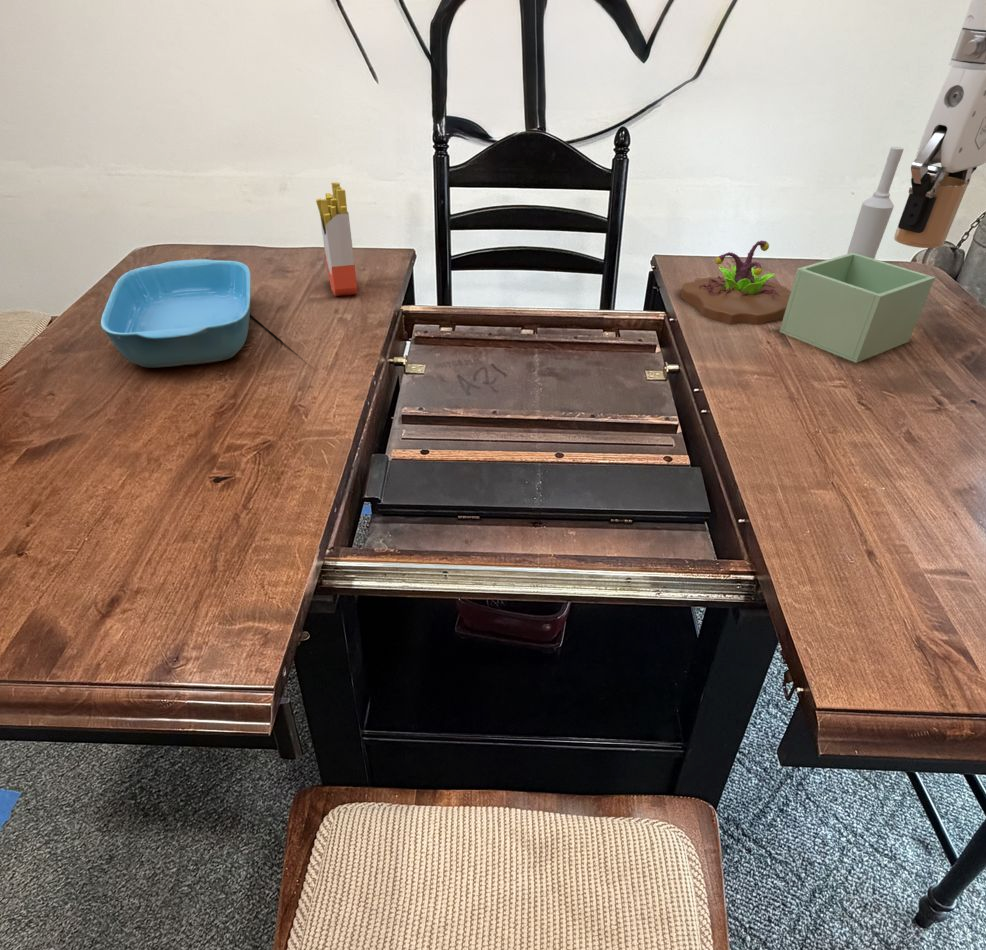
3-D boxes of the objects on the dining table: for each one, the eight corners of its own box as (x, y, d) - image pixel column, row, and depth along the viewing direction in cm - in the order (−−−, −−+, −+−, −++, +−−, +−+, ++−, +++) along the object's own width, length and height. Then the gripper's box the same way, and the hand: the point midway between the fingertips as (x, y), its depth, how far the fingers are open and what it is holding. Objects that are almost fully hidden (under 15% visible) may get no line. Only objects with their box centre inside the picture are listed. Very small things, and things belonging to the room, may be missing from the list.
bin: (907, 344, 121) (935, 277, 113) (854, 366, 114) (880, 296, 107) (831, 316, 130) (852, 252, 122) (778, 334, 123) (797, 268, 116)
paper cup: (952, 242, 93) (977, 181, 88) (928, 251, 90) (952, 188, 85) (909, 231, 96) (931, 172, 91) (884, 239, 93) (905, 179, 89)
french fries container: (334, 303, 132) (319, 194, 120) (327, 283, 139) (312, 179, 127) (359, 300, 133) (346, 193, 121) (350, 281, 140) (338, 178, 128)
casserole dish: (134, 300, 132) (120, 259, 127) (257, 291, 136) (249, 251, 131) (106, 388, 106) (88, 341, 101) (260, 373, 110) (250, 328, 105)
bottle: (860, 306, 133) (915, 152, 116) (831, 302, 135) (881, 149, 118) (859, 297, 137) (913, 146, 120) (831, 293, 138) (880, 143, 121)
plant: (815, 321, 128) (836, 255, 120) (716, 331, 124) (732, 263, 116) (758, 283, 142) (774, 222, 134) (668, 291, 138) (679, 228, 131)
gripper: (986, 59, 74) (915, 245, 86) (1061, 49, 81) (986, 221, 93) (918, 52, 78) (859, 230, 90) (995, 43, 86) (932, 208, 98)
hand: (924, 224), depth 92 cm, fingers closed on paper cup, 6 cm apart
